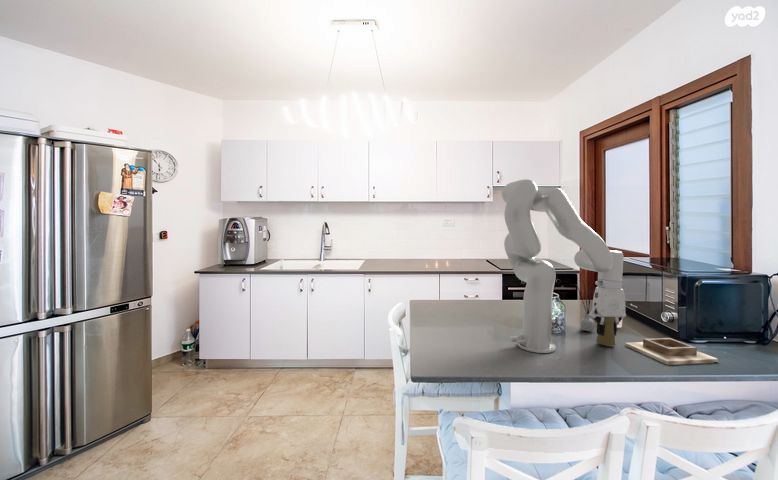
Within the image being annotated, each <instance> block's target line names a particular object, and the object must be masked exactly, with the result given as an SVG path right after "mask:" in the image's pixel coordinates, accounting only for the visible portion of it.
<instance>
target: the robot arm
mask: <svg viewBox="0 0 778 480" xmlns="http://www.w3.org/2000/svg"><path fill="white" fill-rule="evenodd" d="M501 197H502V200H503V201H504V202H505V203H506V204H505V208H504V221H505V225H506V227H507V230H508V233H507V235H506V236H505V238H504V242H503V243H504V244H503V246H504V251H505V255H506V256H507V258H508V261H509V263H510V266H511V268H512V271H513V272H514V274H515V277H516V278H518V280H520V281H522V282H524V283H526V285H525V288H524V292H523V298H522V299H523V303H522V304H523V306H522V307H523V308H522V311H523V312H522V314H523V316H522V318H523V319H522V332H519V335H517V336H515V335H512V336H509V342H511V343H514V342H515V343H516V344H517V346H518V347H519V348H520V349H522V350H525V351H527V352H531V353H536V354H537V353H538V354H548V353H549V354H550V353H554V352H555V351H556V349H557V348H556V347H557V346H556V345H555V344H554V343H553V342H552V328H553V327H552V322H553V321H552V320H553V298H554V297H553V296H554V295H553V294H554V287H555V283H556V278H557V275H556V269H555V267H554V266H553V265H552V263H550V262H549V261H547V260H545V259H541V258H538V257H537V256H538V255H539V254H540V253H541V250H542V243H541V239H540V238H539V236H538V235H539V234H538V233H537V231H536V228H535V225H534V222H533V220H532V217H531V211H534V212H537V213H538V212H540V213H544V212H545V214H546V215H547V216H548V218H549V219H550V221H551V223H552V224H553V226H554V228H555V229H556V230H557V232H558V233H559V235H561V236H562V237H564V238H565V239H567V240H568V241H571V242H573V243H574V244H576V245H577V246H578V247H579V248H580V250H578V251H577V252H576V253H575V255H574V258H573V259H574V263H575V265H576V266H577V267H578V268H580V269H583V270H587V271H590V272H591V271H593V272H597V273H598V274H597V280H596V281H595V282H594V283H595V285H596V287H595V289H594V293H593V299H592V306H591V310H590V311H589V316H590V318H591V319H592V320H593V321H595V322H594V323H596V334H597V335H598V334H599V335H601V336H604V331H605V325H603V323H604V318H605V317H615V318H616V320H615V322H614V335H615V337H616V336H617V331H618V328H617V325H618V324H619V322H620V321H621V320H622V321H623V319H624V318H625V317H626V316H627V313H626V295H625V291H624V289H623V288H622V286H623V271H624V270H623V269H624V253H623V252H622V251H620V250H612V249H609V247H608V245H607V244H606V242H605V241H604V240H603V238H602V237H601V236H600V235H599V234H598V233H597V232H595V230H593V229H592V228H591V227H590V226H588V224H586V223H585V222H584V221H583V220H582V218H581V217H580V216H579V214H578V212H577V210H576V209H575V207H574V205H573V204H572V202H571V201H570V199H569V198H568V196H567V194H566V193H565V191H564V190H562V189H561V188H559V187H546V188H538V185H537V184H536V182H534V181H533V180H532V179H528V178H527V179H519V180H515V181H512V182H509V183H507V184H506V185H505V186H503V189H502V190H501ZM599 317H601V318H600V319H599Z"/></svg>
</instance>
